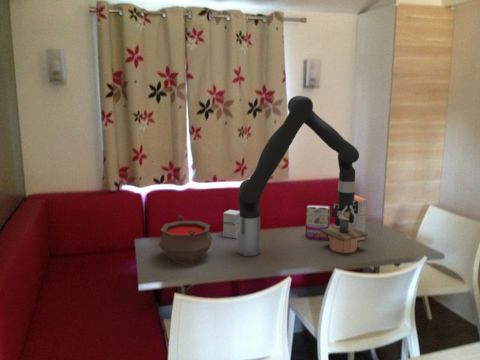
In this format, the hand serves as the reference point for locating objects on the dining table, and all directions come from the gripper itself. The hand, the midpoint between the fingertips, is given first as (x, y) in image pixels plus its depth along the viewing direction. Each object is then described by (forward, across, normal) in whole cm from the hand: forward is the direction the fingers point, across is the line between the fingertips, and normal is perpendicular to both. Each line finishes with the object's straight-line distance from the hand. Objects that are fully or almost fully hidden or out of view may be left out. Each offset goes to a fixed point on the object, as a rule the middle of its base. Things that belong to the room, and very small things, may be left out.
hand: (344, 224), depth 193 cm
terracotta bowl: (+12, 0, 0) cm, 12 cm away
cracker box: (+12, +16, +10) cm, 22 cm away
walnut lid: (+5, 0, 0) cm, 5 cm away
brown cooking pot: (+12, -68, +26) cm, 74 cm away
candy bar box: (+12, -1, +17) cm, 21 cm away
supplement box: (+12, -36, +41) cm, 56 cm away
